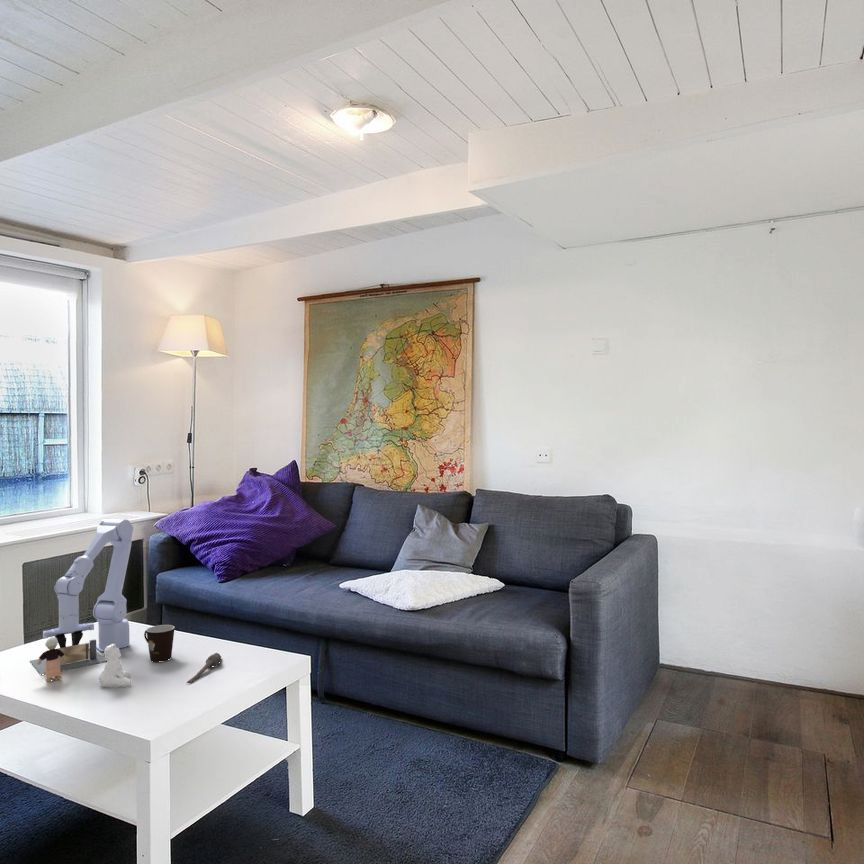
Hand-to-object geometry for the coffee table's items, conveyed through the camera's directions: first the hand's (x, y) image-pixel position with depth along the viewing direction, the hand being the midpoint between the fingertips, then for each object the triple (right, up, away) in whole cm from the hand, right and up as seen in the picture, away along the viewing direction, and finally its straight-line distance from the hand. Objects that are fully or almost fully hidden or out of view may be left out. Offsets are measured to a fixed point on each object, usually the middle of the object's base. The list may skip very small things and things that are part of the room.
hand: (69, 655), depth 220 cm
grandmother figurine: (+3, -2, -15) cm, 15 cm away
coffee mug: (+28, -2, +4) cm, 28 cm away
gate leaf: (+1, -1, -2) cm, 3 cm away
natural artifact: (+47, -2, -8) cm, 48 cm away
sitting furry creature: (+24, -2, -19) cm, 31 cm away
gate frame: (-1, -2, +1) cm, 3 cm away
